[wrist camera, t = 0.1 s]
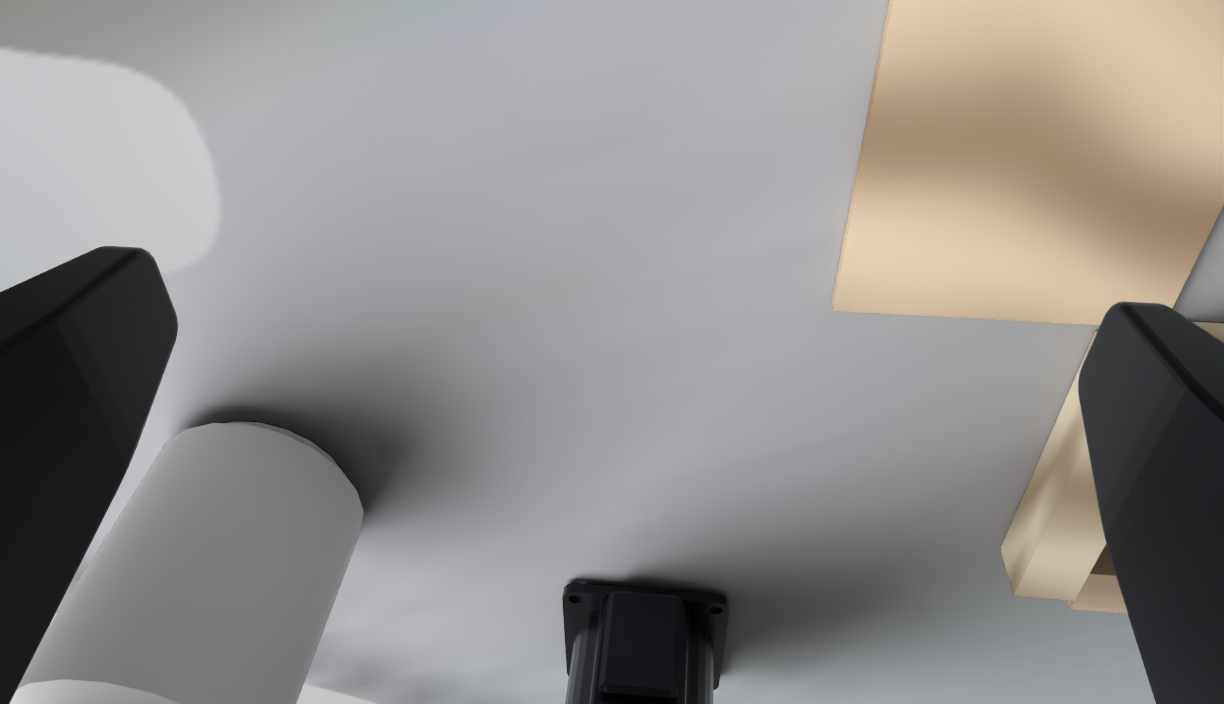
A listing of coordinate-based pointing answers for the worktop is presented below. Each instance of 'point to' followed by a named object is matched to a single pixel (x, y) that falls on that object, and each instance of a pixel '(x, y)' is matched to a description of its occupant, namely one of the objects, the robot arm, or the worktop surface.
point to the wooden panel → (1036, 158)
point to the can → (207, 578)
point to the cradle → (1065, 520)
